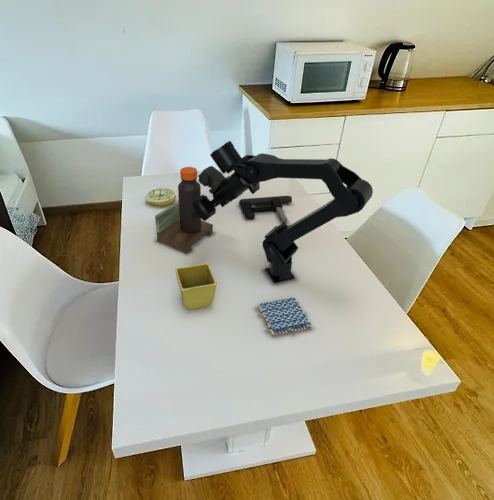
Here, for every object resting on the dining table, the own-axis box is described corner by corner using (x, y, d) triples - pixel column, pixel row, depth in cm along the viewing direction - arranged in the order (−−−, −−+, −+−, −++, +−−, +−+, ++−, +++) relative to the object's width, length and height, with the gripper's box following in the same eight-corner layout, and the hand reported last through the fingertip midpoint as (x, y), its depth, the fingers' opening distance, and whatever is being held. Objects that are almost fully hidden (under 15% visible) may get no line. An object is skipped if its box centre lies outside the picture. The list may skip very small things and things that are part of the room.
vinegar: (178, 224, 127) (175, 166, 115) (198, 221, 128) (197, 164, 116) (182, 235, 121) (179, 176, 110) (203, 232, 123) (202, 173, 111)
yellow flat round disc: (148, 195, 150) (147, 186, 148) (176, 195, 151) (175, 186, 148) (144, 208, 142) (143, 199, 140) (174, 208, 142) (173, 199, 140)
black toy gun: (303, 215, 134) (289, 192, 147) (247, 220, 131) (237, 196, 143) (302, 223, 136) (288, 199, 149) (247, 228, 133) (237, 203, 146)
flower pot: (182, 317, 97) (181, 289, 92) (176, 294, 104) (174, 267, 99) (216, 310, 99) (217, 283, 94) (208, 288, 106) (208, 262, 101)
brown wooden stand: (212, 233, 129) (212, 208, 123) (187, 253, 119) (185, 227, 114) (184, 222, 134) (183, 198, 129) (157, 241, 125) (154, 215, 119)
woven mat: (294, 300, 103) (295, 295, 101) (312, 329, 94) (313, 324, 93) (257, 307, 100) (257, 301, 99) (272, 338, 92) (273, 332, 91)
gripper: (235, 150, 111) (204, 177, 122) (196, 172, 98) (165, 200, 109) (257, 182, 112) (225, 206, 123) (222, 208, 99) (189, 232, 110)
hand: (202, 210), depth 116 cm, fingers open, 9 cm apart
